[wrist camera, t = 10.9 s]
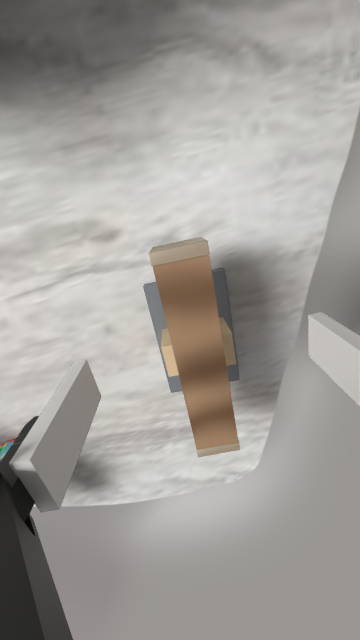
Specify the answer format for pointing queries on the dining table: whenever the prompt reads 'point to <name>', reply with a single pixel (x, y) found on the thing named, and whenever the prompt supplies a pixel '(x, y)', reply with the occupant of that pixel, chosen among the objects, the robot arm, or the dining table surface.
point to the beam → (197, 341)
